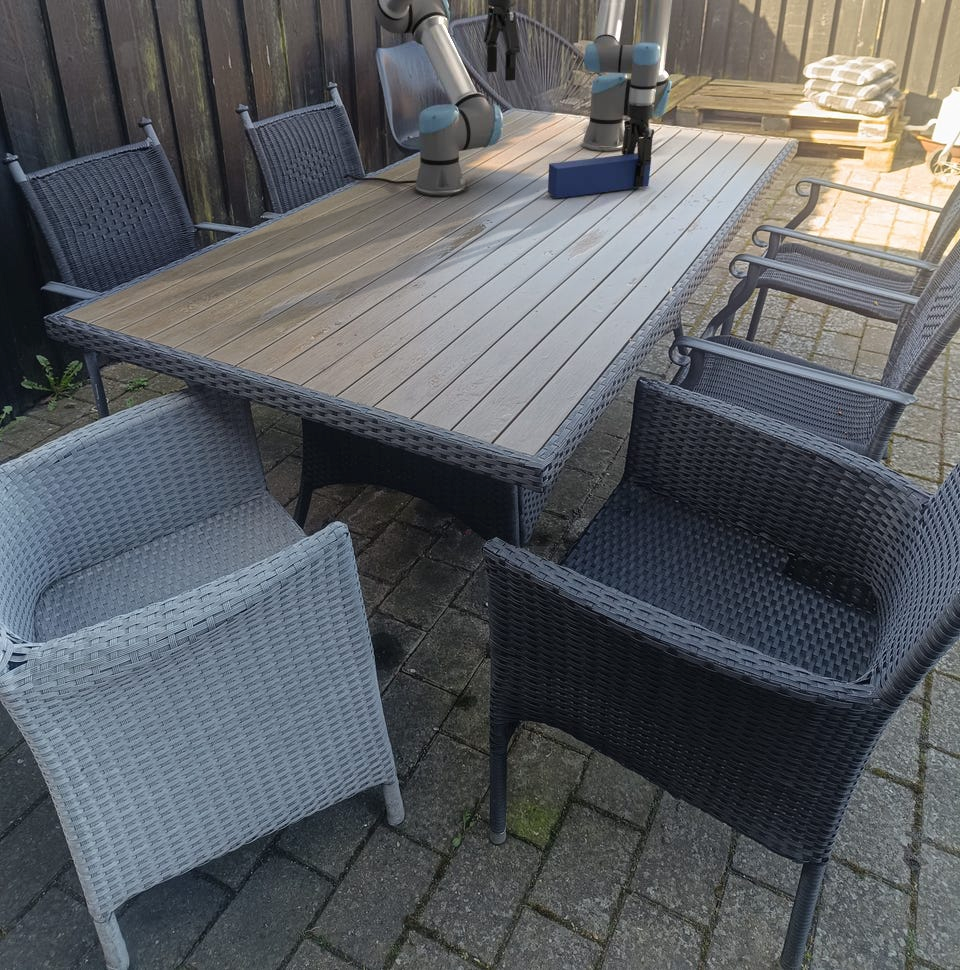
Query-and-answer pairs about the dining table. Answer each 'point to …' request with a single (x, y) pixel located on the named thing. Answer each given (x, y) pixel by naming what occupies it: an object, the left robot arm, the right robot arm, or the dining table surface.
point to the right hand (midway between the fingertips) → (633, 183)
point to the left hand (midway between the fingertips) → (500, 76)
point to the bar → (594, 175)
